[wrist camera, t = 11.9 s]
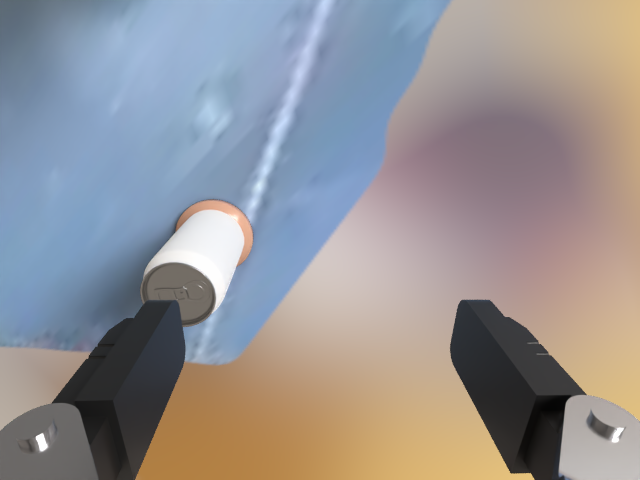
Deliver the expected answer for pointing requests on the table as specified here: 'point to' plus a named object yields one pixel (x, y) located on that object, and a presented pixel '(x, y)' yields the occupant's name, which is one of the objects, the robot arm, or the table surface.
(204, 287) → the can
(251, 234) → the peach round disc
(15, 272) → the table surface
